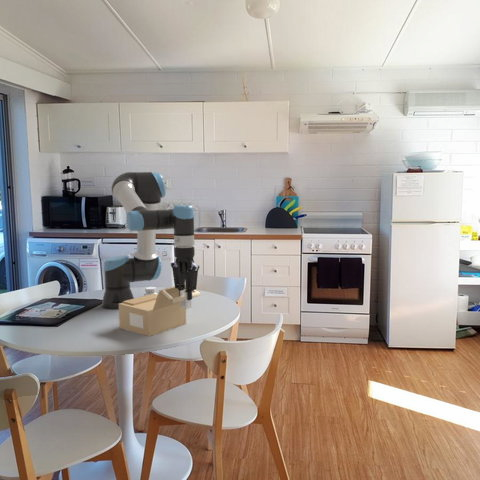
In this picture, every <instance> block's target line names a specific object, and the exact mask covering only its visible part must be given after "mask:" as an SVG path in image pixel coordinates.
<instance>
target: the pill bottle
mask: <svg viewBox="0 0 480 480" xmlns="http://www.w3.org/2000/svg"><path fill="white" fill-rule="evenodd" d="M144 288H145V289H144V292H145V293H143V296H146V295H150V294H158V293H157V292H156V290H157V289H156V288H157V287H155V286H146V287H144Z"/></svg>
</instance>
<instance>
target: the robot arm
mask: <svg viewBox="0 0 480 480" xmlns="http://www.w3.org/2000/svg"><path fill="white" fill-rule="evenodd" d="M166 191H167V189H166V182H165V180H164V177H163V175H162V174H161V173H160V172H155V171H154V172H152V171H141V172H140V171H136V172H131V171H130V172H129V171H128V172H124V173H121V174H119V175H118V176H117V177H115V179H114V180H113V182H112V184H111V193H112V196H113V197H114V199H115V200H116V201H118V202H119V203H120V204H121V206H122V207H123V209H124V211H125V212H126V226H127V228H128V230H129V231H131V232H133V231H134V232H136V231H137V235H136V237H137V239H136V241H137V243H136V251H134V253H133V257H131V258H130V256H129V255H127V254H126V255H118V256H112V257H109V258H107V259H106V260H105V261H104V264H103V266H104V267H103V271H104V294H103V298H102V300H101V306H102V307H101V308H104V309H108V310H110V309H111V310H112V309H113V310H115V309H116V310H117V309H118V310H119V304H120V303H123V301H126V300H130V299H134V294H133V293H132V290H131V283H137V282H146V281H147V282H148V281H153V280H157V279H158V278H159V277H160V275H161V272H162V266H163V265H162V259H161V257H160V256H159V254H158V253H157V252H156V236H157V235H156V234H157V230H173V242H174V243H173V244H174V250H173V251H174V252H173V253H174V257H175V261H174V262H171V263H170V266H171V270H172V277H173V284H174V286H175V288H177V289H178V290H179V297H180V296H183V295H185V300H183V301H180V308H183V307H185V309H186V310H187V309H190V308H192V300H193V298H192V293H193V292H192V291H193V290H196V291H197V285H198V275H199V270H200V265H198V264H196V263H195V260H194V258H195V253H196V252H195V247H194V245H195V214H194V207H193V206H192V205H190V204H189V205H188V204H185V205H184V204H183V205H181V204H179V205H178V204H177V205H174V206H173V208H170V209H158V205H160V204H161V201H162V198H165V197H166ZM185 284H186V288H185ZM184 289H186V290H184Z"/></svg>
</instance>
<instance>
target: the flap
mask: <svg viewBox="0 0 480 480" xmlns="http://www.w3.org/2000/svg"><path fill="white" fill-rule="evenodd" d="M185 288H186V283H185ZM184 290H186V289H184ZM157 294H158V296H157V299H156V302H155V305H154V308H153V310H157V309H161V308H164V307H168V306H171V305H175V304H178V303H180V301H183V300H185V295H183V296H180V297H179V290H178V289H177V288H175V285H174V286H171V287H168V288H167V287H166V288H162V289H159V290H158V293H157ZM200 296H201V292H200V291H198V290H197V289H196V290H193V291H192V299H193V298H197V297H200Z"/></svg>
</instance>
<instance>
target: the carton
mask: <svg viewBox="0 0 480 480" xmlns="http://www.w3.org/2000/svg"><path fill="white" fill-rule="evenodd" d="M157 296H158V293H157V294H150V295H146V296H144V295H143V296H140V297H135V298H134V297H133V298H134V299H130V300H126V301H123V303H120V304H119V309H118V316H119V317H118V321H119V323H118V324H119V328H120V329H122V330H126V331H128V332H132V333H136V334H140V335H143V336H146V337H151V336H154V335H157V334H160V333H163V332H167V331H169V330H172V329H175V328H178V327H181V326H183V325H186V324H187V309H185V307H183V308H180V303H178V304H175V305H171V306H168V307H164V308H161V309H157V310H153V308H154V305H155V302H156V299H157Z"/></svg>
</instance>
